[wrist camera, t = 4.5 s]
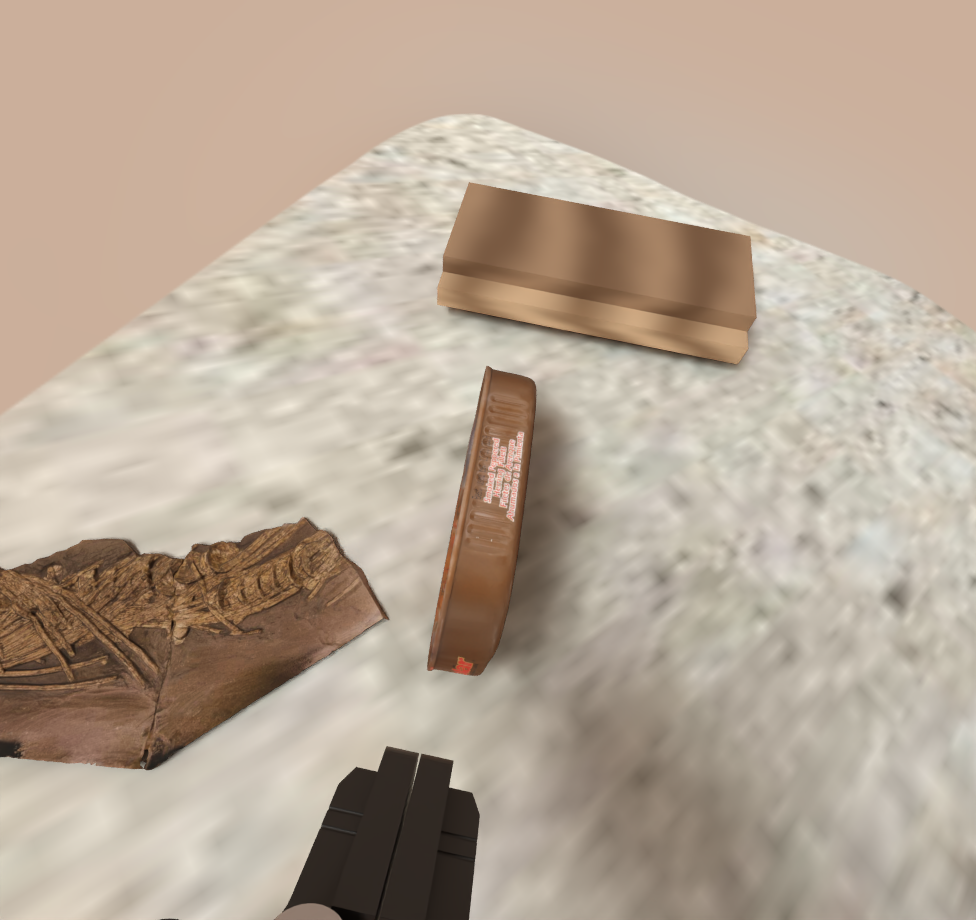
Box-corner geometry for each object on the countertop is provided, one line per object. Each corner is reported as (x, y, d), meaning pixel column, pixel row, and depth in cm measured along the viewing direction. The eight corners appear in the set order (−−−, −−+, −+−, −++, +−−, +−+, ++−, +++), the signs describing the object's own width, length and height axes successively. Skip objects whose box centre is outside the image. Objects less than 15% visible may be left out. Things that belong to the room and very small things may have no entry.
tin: (472, 426, 35) (482, 327, 28) (523, 434, 35) (546, 338, 28) (421, 685, 27) (416, 641, 20) (487, 697, 27) (506, 657, 20)
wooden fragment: (379, 513, 32) (377, 504, 31) (395, 730, 26) (394, 728, 25) (-160, 573, 28) (-179, 565, 27) (-271, 842, 22) (-301, 843, 22)
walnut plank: (725, 281, 44) (750, 236, 40) (729, 376, 39) (757, 334, 35) (466, 230, 44) (469, 182, 41) (437, 318, 39) (437, 271, 36)
